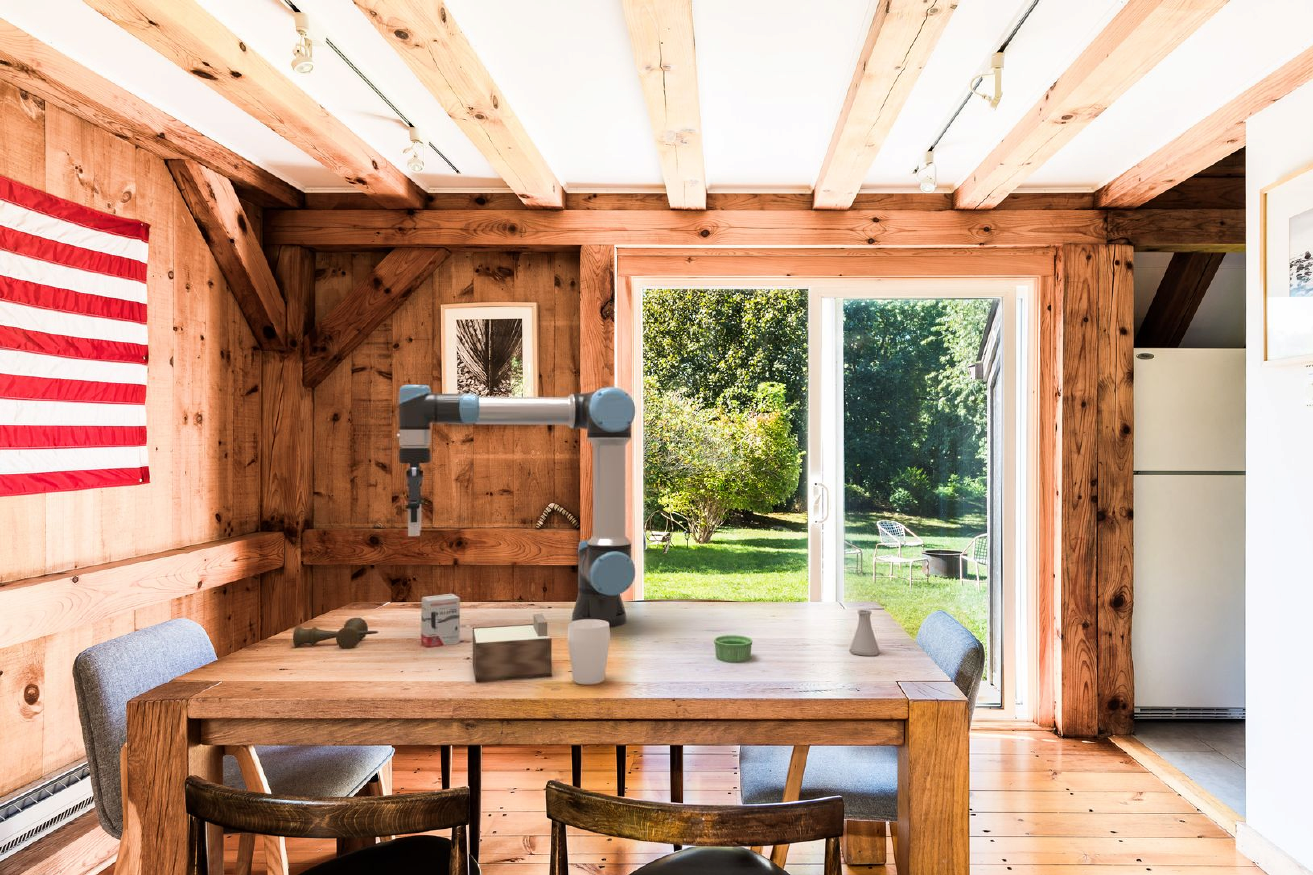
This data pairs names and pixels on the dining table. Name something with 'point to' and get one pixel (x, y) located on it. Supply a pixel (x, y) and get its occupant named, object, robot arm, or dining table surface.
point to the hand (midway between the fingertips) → (414, 532)
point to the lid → (514, 631)
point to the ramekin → (733, 648)
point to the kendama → (334, 634)
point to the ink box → (440, 620)
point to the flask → (864, 637)
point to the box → (512, 658)
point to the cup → (588, 650)
